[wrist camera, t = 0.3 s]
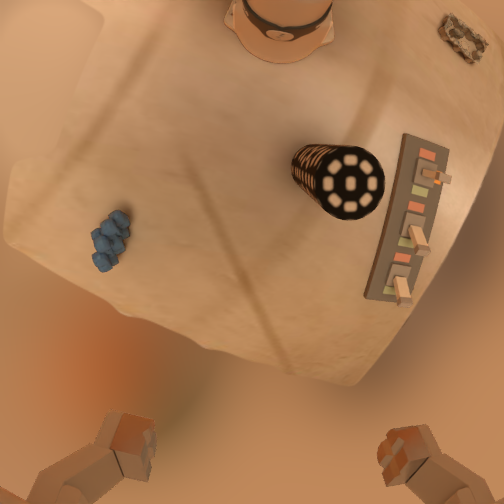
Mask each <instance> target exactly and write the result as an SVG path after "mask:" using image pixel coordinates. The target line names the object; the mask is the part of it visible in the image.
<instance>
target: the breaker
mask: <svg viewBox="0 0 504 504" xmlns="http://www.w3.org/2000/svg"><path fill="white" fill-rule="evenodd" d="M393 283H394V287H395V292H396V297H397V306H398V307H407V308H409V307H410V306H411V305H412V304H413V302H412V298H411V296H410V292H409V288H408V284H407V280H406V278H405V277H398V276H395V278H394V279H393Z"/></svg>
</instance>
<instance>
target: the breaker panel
mask: <svg viewBox="0 0 504 504" xmlns="http://www.w3.org/2000/svg"><path fill="white" fill-rule="evenodd" d="M448 155H449V149H447V148H445V147H442V146H439V145H437V144H434V143H431V142H429V141H426V140H423V139H421V138H418V137H415V136H412V135H409V134H403V138H402V144H401V149H400V155H399V160H398V165H397V170H396V175H395V180H394V185H393V189H392V194H391V198H390V202H389V207H388V211H387V215H386V219H385V223H384V227H383V231H382V235H381V238H380V242H379V246H378V249H377V253H376V256H375V260H374V263H373V267H372V270H371V273H370V277H369V280H368V283H367V286H366V289H365V293H364V297H365V299H370V300H379V301H388V302H397V297H396V292H395V287H394V283H393V279H394V278H395V276H398V277H405V278H406V280H407V284H408V288H409V292H410V296H411V293H412V290H413V287H414V285H415V282H416V279H417V276H418V273H419V270H420V267H421V264H422V261H423V257H424V256H420V255H415V252H414V246H413V243H412V240H411V237H410V234H409V231H408V229H409V227H410V226H411V225H413V226H417V227H421V228H422V231H423V234H424V236H425V239H426V242H427V244H428V241H429V237H430V234H431V230H432V227H433V223H434V219H435V215H436V211H437V207H438V203H439V199H440V195H441V190H442V186H443V182H441V181H438V180H435V179H432V178H428V177H425V176H422V172H423V169H426V170H430V171H435V172H436V171H437V172H441V173H444V174H445V171H446V166H447V161H448Z"/></svg>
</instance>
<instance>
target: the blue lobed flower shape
mask: <svg viewBox="0 0 504 504" xmlns="http://www.w3.org/2000/svg"><path fill="white" fill-rule="evenodd" d="M108 216H109V219H106V220H104V221H103V222H102V223H100V227H101V228H97V229H95V230H93V231H92V232H91V237H92V240H93V243H94V247H95V249H96V250H97V252H95V253H94V254H93V255H92V259H93V262H94V264H95V266H96V267H98V269H99V271H100V272H102V273H103V272H107V271H109V270H111V269H112V268H113V266H115V265H117V264H118V263H119V261H118V257H117V254H120V253H122V252H124V251H125V247H124V244H123V241H122V240H124V239H126V238H127V237H129V236H130V234H129V231H128V228H127V227H128V226H129V225H130V222H129V218H128V216H127V215H126V214H125V213H123V212H121V211H120V210H115V211H113V212H112V213H110V214H109V215H108Z"/></svg>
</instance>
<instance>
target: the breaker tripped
mask: <svg viewBox="0 0 504 504" xmlns="http://www.w3.org/2000/svg"><path fill="white" fill-rule="evenodd" d="M422 176H425V177H428V178H432V179H435V180H438V181H441V182H444V183H447V184H450V183H451V178H452V176H450V175H447V174H444V173H441V172H437V171H436V172H435V171H430V170H426V169H423V172H422Z"/></svg>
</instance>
